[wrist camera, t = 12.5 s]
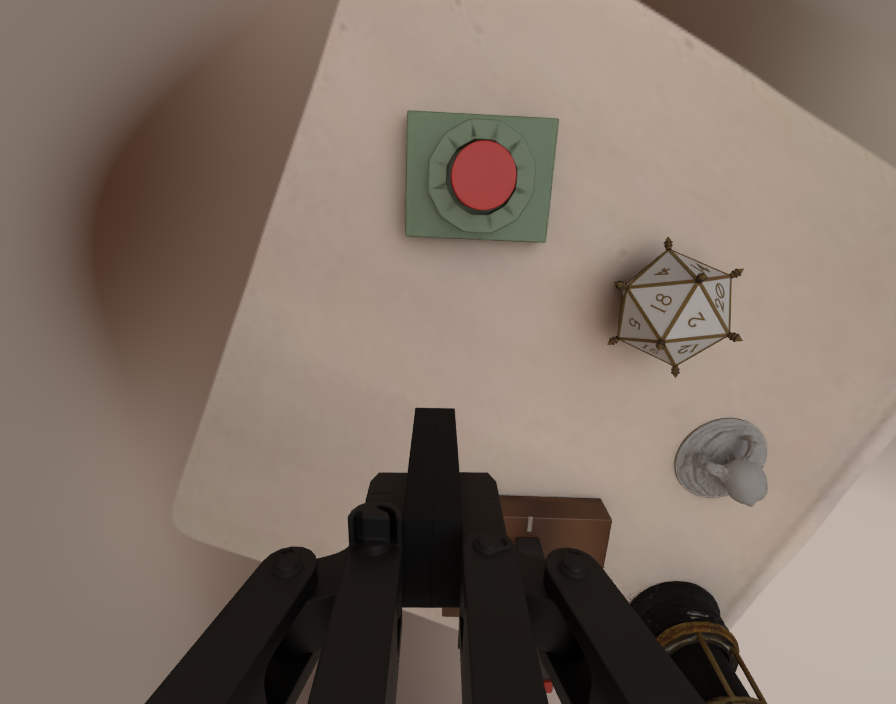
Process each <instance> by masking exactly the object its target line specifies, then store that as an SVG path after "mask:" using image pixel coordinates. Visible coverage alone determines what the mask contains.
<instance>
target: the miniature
mask: <svg viewBox="0 0 896 704" xmlns="http://www.w3.org/2000/svg"><path fill="white" fill-rule="evenodd" d="M766 458H767V444H766V440H765V438H764V436H763V434H762V433H761V432H760V430H759V429H758V428H756V427H755V426H754V425H752V424H751V423H749V422H747V421H744V420H740V419H734V418H725V419H718V420H714V421H711V422H709V423H706V424H704V425H702V426H700V427H699V428H697V429H696V430H694V431H693V432H692V433H691V434H690V435H689V436H688V437H687V438H686V439H685V440H684V442H683V443H682V444H681V446H680V448H679V450H678V452H677V455H676V459H675V471H676V475H677V478H678V480H679V481H680V483H681V484H682V485H683V486H684V487H685V488H686V489H687V490H688V491H689V492H691V493H693V494H695V495H698V496H701V497H707V498H718V497H724V496H728V495H730V497H731V498H733V499H734V500H736V501H737V502H739V503H742V504H746V505H747V506H751V507H752V506H754V504H755V503H756V502H757V501H759V500H762V499H763V498H764V497H765V496H766V494H767V489H768V488H767V479H766V476H765V473H764V472H763V470H762V468H763V466H764V464H765V461H766Z"/></svg>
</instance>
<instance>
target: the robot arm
mask: <svg viewBox="0 0 896 704" xmlns="http://www.w3.org/2000/svg"><path fill="white" fill-rule="evenodd" d="M348 530H349V546H348V547H347V548H346V549H344V550H343V551H341V552H339V553H336V554H333V555H330V556H326V557H322V558H317V559H316V556H315V554H314V553H313V552H312V551H311V550H309V549H306V548H304V547H288V548H284V549H280V550H278V551H276V552H274V553H272V554H270V555H269V556H268V557H267V558H266V559H265V560H264V561H263V562H262V563H261V564H260V565H259V567H258V568H257V569H256V570H255V571H254V573H253V574H252V575H251V576H250V577H249V579H248V580H247V581H246V582H245V583H244V585H243V586H242V587H241V588H240V589H239V591H238V592H237V593H236V594H235V596H234V597H233V598H232V599H231V600H230V601H229V603H228V604H227V605H226V606H225V607H224V609H223V610H222V611H221V612H220V613H219V615H218V616H217V617H216V618H215V620H214V621H213V622H212V623H211V624H210V626H209V627H208V628H207V629H206V630H205V632H204V633H203V634H202V635H201V636H200V638H199V639H198V640H197V641H196V642H195V644H194V645H193V646H192V647H191V648H190V650H189V651H188V652H187V653H186V655H185V656H184V657H183V658H182V659H181V660H180V662H179V663H178V664H177V665H176V667H175V668H174V669H173V670H172V671H171V673H170V674H169V675H168V676H167V677H166V679H165V680H164V681H163V682H162V684H161V685H160V686H159V687H158V688H157V689H156V691H155V692H154V693H153V694H152V695H151V697H150V698H149V699H148V700H147V702H146V703H145V704H295V703H296V701H297V699H298V698H299V695H300V694H301V692H302V690H303V688H304V686H305V684H306V682H307V680H308V678H309V677H310V675H311V673H312V671H313V669H314V667H315V665H316V663H317V661H318V659H319V662H318V665H317V669H316V674H315V677H314V681H313V685H312V688H311V692H310V696H309V700H308V704H396V692H397V680H398V669H399V657H400V645H401V634H402V606H403V607H421V608H459V606H460V613H459V636H458V649H460V661H461V684H462V704H548V699H547V695H546V690H545V685H544V681H543V676H542V672H541V667H540V662H539V658H538V655H539V657H540V659H541V662H542V664H543V666H544V668H545V670H546V672H547V674H548V676H549V678H550V680H551V682H552V685H553V687H554V689H555V691H556V693H557V695H558V697H559V699H560V701H561V703H562V704H706V703H705V702H704V700H703V699H702V698H701V696H700V695H699V694H698V692H697V691H696V690H695V689H694V687H693V686H692V685H691V683H690V682H689V681H688V679H687V678H686V677H685V675H684V674H683V673H682V672H681V670H680V669H679V668H678V666H677V665H676V664H675V662H674V661H673V660H672V658H671V657H670V656H669V655H668V653H667V652H666V651H665V649H664V648H663V647H662V645H661V644H660V643H659V642H658V640H657V639H656V638H655V636H654V635H653V634H652V632H651V631H650V630H649V628H648V627H647V626H646V625H645V623H644V622H643V621H642V619H641V618H640V617H639V615H638V614H637V613H636V612H635V610H634V609H633V608H632V606H631V605H630V604H629V602H628V601H627V600H626V598H625V597H624V596H623V595H622V593H621V592H620V591H619V589H618V588H617V587H616V585H615V584H614V583H613V582H612V580H611V579H610V578H609V576H608V575H607V574H606V572H605V571H604V570H603V568H602V567H601V566H600V565H599V563H598V562H597V561H596V560H595V559H594V558H593V557H592V556H591V555H589V554H587V553H585V552H583V551H581V550H578V549H574V548H570V547H568V548H558V549H555V550H552V551H551V552H550V553H549V554H548V555H547V557H546V559H544V558H540V557H536V556H532V555H529V554H526V553H524V552H522V551H521V550H519V549H517V548H516V547H515V546H514V544H513V542H512V540H511V539H510V538H509V537H508V536H507V532H506V527H505V523H504V518H503V513H502V508H501V503H500V498H499V494H498V489H497V484H496V481H495V480H494V479H493V478H492V477H491V476H490V475H489V473H469V472H459V461H458V447H457V434H456V421H455V409H452V408H415V416H414V424H413V432H412V441H411V449H410V458H409V466H408V473H378V474H377V475H376V476H375V477H374V478H373V480H372V481H371V482H370V486H369V489H368V494H367V497H366V503H364V504H361V505H359V506H357V507H356V508H355V509H353V510H352V511H351V513H350V514H349V516H348ZM537 651H538V653H537Z"/></svg>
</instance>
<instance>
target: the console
mask: <svg viewBox="0 0 896 704" xmlns="http://www.w3.org/2000/svg"><path fill="white" fill-rule="evenodd" d="M499 498H500V503H501V508H502V513H503V518H504V523H505V527H506V532H507V536H508V537H509V538H510V539H511V540H512V542H513V544H514V546H515V545H516V538H539V539H540V543H541V546H542V550H543V553H544V556H545V559H546V557H547V555H548V554H549V553H550V552H551V551H552V550H555V549H558V548H568V547H570V548H574V549H578V550H581V551H583V552H585V553H587V554H589V555H591V556H592V557H593V558H594V559H595V560H596V561H597V562H598V563H599V565H600V566H601V567H602V568H603V567H604V562H605V556H606V551H607V545H608V540H609V534H610V529H611V523H612V519H611V517H610V515H609V513H608V512H607V510H606V508H605V506H604V504H603V502H602V500H601V499H589V498H557V497H526V496H499ZM459 613H460V606H459V608H442V616H444V617H459Z"/></svg>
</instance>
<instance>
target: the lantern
mask: <svg viewBox="0 0 896 704" xmlns="http://www.w3.org/2000/svg"><path fill="white" fill-rule="evenodd" d="M630 605H631V606H632V608H633V609H634V610H635V612H636V613H637V614H638V615H639V617H640V618H641V619H642V621H643V622H644V623H645V625H646V626H647V627H648V628H649V630H650V631H651V632H652V634H653V635H654V636H655V638H656V639H657V640H658V642H659V643H660V644H661V645H662V647H663V648H664V649H665V651H666V652H667V653H668V655H669V656H670V657H671V658H672V660H673V661H674V662H675V664H676V665H677V666H678V668H679V669H680V670H681V672H682V673H683V674H684V675H685V677H686V678H687V679H688V681H689V682H690V683H691V685H692V686H693V687H694V689H695V690H696V691H697V692H698V694H699V695H700V696H701V698H702V699H703V700H704V702H705V703H706V704H767V702H766V701H765V699H764V697H763V695H762V694H761V692H760V690H759V688H758V686H757V685H756V683H755V681H754V679H753V678H752V676H751V674H750V672H749V671H748V669H747V668H746V665H745V664H744V662H743V660H742V658H741V657H740V655H739V647H738V642H737V641H736V639H735V637H734V636H733V634H732V633H730V632H729V630H728V628H727V627H726V626H725V624H724V621H723V620H722V619H721V617H720V610H719V607H718V605H717V602H716V601H715V599H714V597H713V596H712V595H711V594H710V593H708V592H707V591H706V590H704V589H703V588H701V587H699V586H698V585H695V584H692V583H687V582H666V583H661V584H659V585H656V586H653V587H650V588H648V589H647V590H645V591H643V592H642V593H641V594H639V595H638V596H637V597H636V598H635V599H634V600H633V601H632V602H631V604H630ZM738 664H739V665H740V667H741V668H742V670H743V672H744V674H745V675H746V677H747V679H748V681H749V683H750V685H751V686H752V688H753V690H754V692H755V694H756V695H757V697H758V699H759V700H758V699H755V698H751V697H750V696H749V694H748V693H747V691H746V689H745V688H744V686H743V685H742V683H741V681H740V680H739V678H738V677H737V675H736V673H735V672H736V669H737V666H738Z"/></svg>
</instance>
